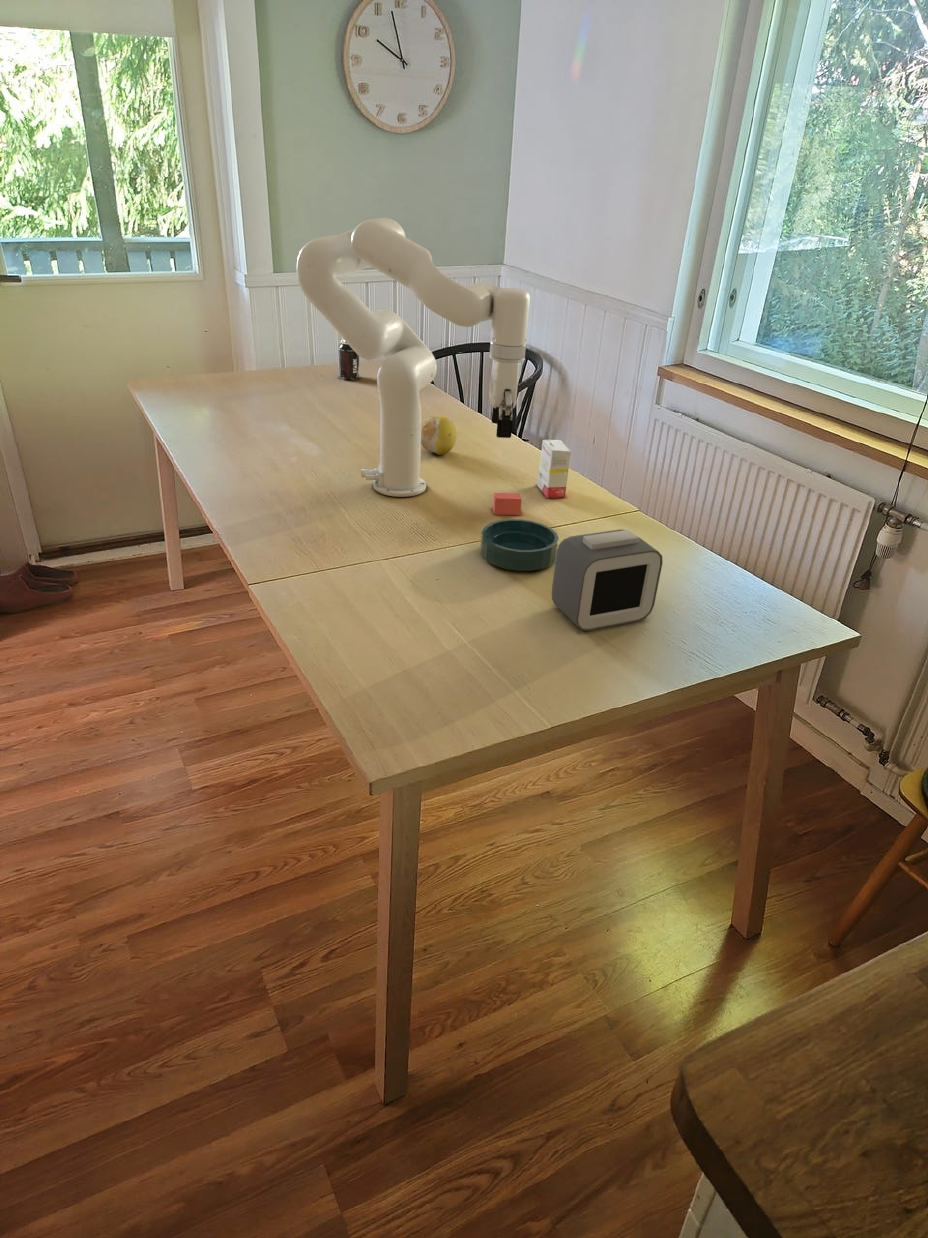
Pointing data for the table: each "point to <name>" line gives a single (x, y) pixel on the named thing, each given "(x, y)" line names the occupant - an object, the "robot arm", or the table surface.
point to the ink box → (553, 468)
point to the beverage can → (348, 361)
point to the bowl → (519, 544)
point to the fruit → (438, 434)
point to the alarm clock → (605, 579)
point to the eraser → (507, 503)
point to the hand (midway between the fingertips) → (501, 429)
